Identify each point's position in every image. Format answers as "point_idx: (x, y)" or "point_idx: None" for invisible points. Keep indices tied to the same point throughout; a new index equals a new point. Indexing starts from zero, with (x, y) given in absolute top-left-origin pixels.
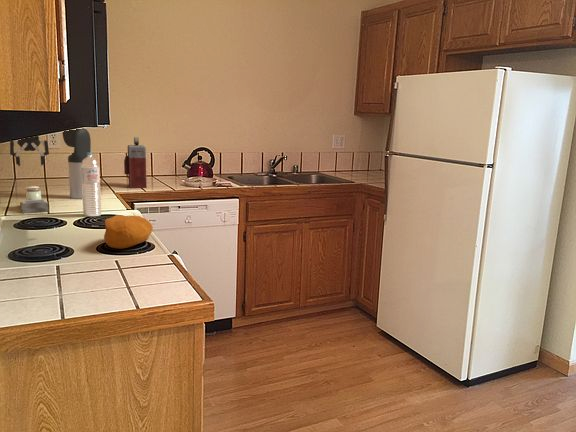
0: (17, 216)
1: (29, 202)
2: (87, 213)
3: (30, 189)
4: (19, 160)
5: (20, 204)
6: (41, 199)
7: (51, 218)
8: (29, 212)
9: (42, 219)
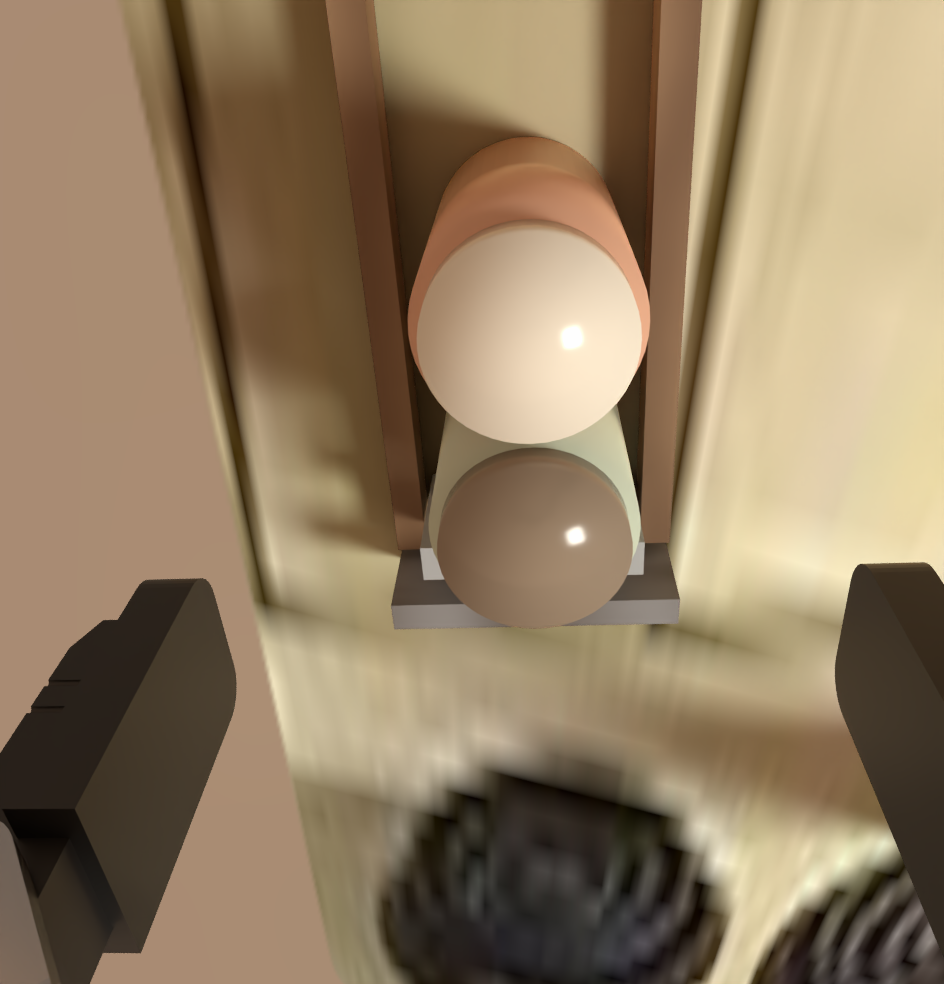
0: (372, 671)
1: None
2: None
3: (490, 618)
4: (175, 831)
5: (347, 153)
6: None
7: (641, 810)
8: None
9: (570, 822)
